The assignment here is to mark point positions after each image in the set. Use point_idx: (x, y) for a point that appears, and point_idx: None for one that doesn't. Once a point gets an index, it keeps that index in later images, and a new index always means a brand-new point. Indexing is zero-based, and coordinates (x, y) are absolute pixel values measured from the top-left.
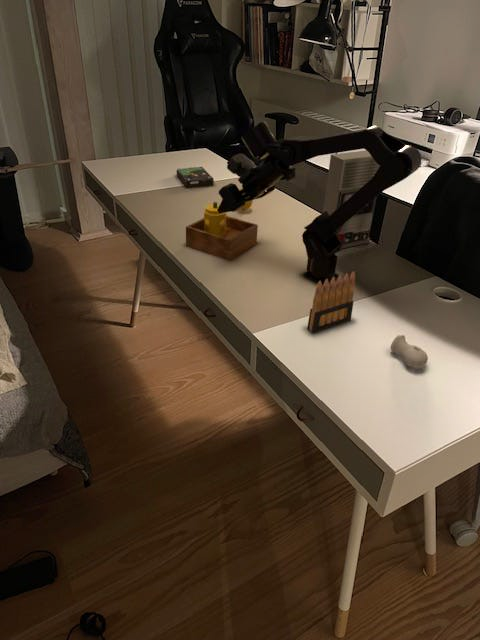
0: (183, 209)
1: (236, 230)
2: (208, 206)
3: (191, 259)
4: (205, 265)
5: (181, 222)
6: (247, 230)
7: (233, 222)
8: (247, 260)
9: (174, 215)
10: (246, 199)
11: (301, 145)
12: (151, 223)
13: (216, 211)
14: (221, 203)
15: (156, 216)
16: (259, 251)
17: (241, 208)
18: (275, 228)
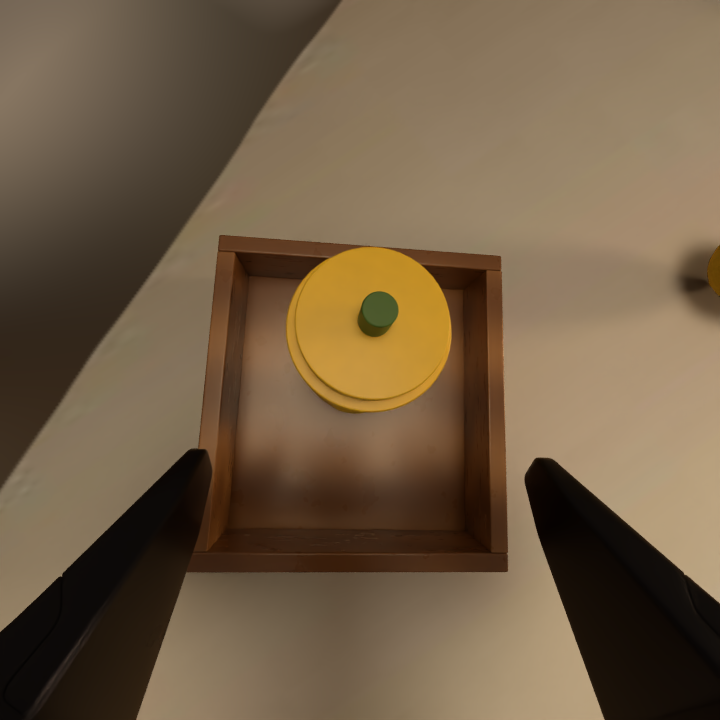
0: (549, 68)
1: (457, 422)
2: (362, 264)
3: (135, 378)
4: (116, 467)
5: (434, 133)
6: (393, 569)
7: (479, 396)
8: (273, 601)
9: (475, 71)
10: (569, 589)
11: None
12: (348, 41)
13: (314, 372)
14: (61, 587)
15: (419, 20)
16: (391, 593)
17: (709, 278)
18: (654, 511)
